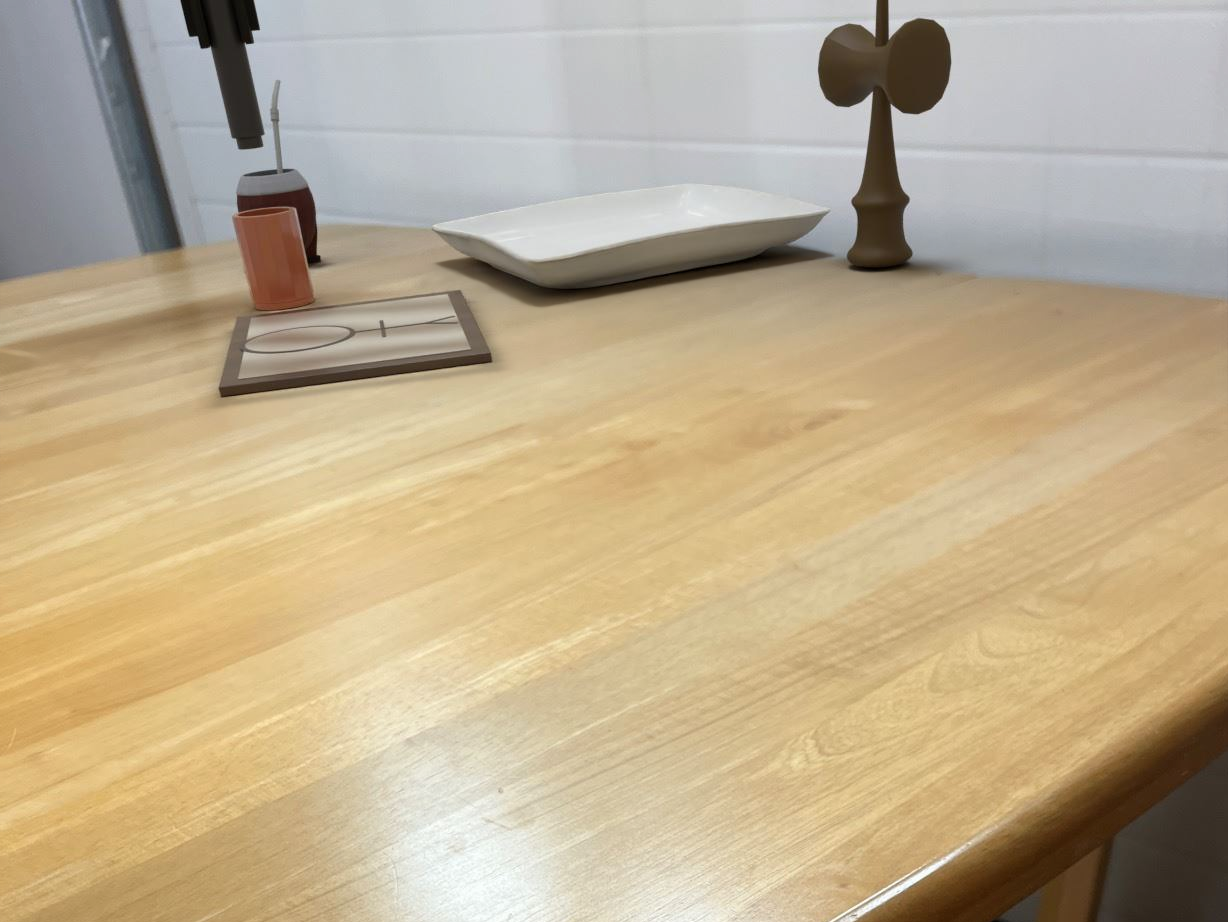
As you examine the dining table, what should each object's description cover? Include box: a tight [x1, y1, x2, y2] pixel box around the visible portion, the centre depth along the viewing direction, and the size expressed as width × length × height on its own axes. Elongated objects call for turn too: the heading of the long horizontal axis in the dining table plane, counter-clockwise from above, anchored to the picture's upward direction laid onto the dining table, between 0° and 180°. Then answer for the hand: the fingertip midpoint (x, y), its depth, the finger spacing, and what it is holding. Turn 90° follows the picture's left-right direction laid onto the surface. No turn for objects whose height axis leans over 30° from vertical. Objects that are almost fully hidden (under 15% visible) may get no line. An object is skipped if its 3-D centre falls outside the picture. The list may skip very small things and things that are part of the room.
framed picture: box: [218, 289, 493, 397], centre depth 99 cm, size 24×18×1 cm
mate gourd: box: [235, 79, 322, 264], centre depth 126 cm, size 8×8×15 cm
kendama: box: [817, 0, 952, 268], centre depth 102 cm, size 6×10×20 cm, turn 31°
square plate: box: [431, 182, 832, 290], centre depth 118 cm, size 27×27×4 cm
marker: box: [200, 0, 266, 151], centre depth 104 cm, size 3×3×12 cm
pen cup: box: [231, 207, 316, 311], centre depth 112 cm, size 5×5×7 cm
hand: (227, 43), depth 103 cm, fingers closed on marker, 2 cm apart
